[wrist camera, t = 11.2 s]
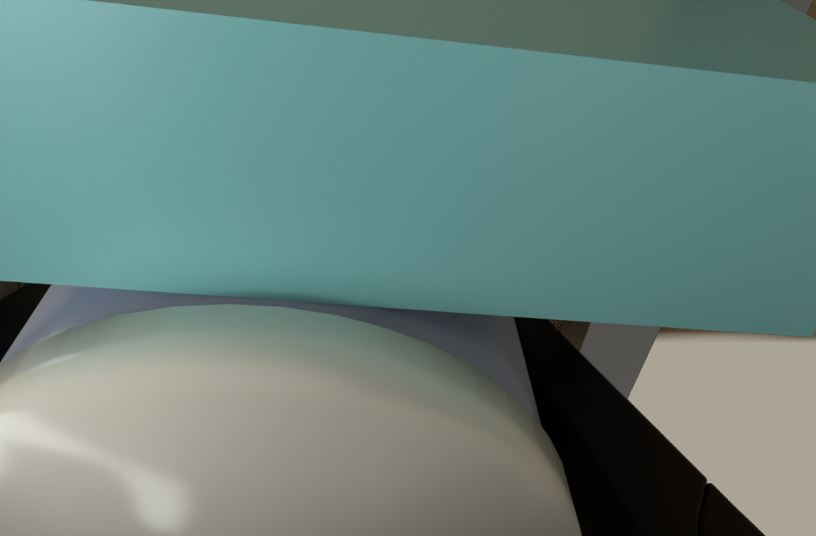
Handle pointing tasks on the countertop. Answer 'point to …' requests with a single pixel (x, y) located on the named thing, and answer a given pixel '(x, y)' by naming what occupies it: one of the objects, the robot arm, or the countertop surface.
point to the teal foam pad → (419, 155)
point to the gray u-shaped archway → (593, 326)
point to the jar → (270, 421)
